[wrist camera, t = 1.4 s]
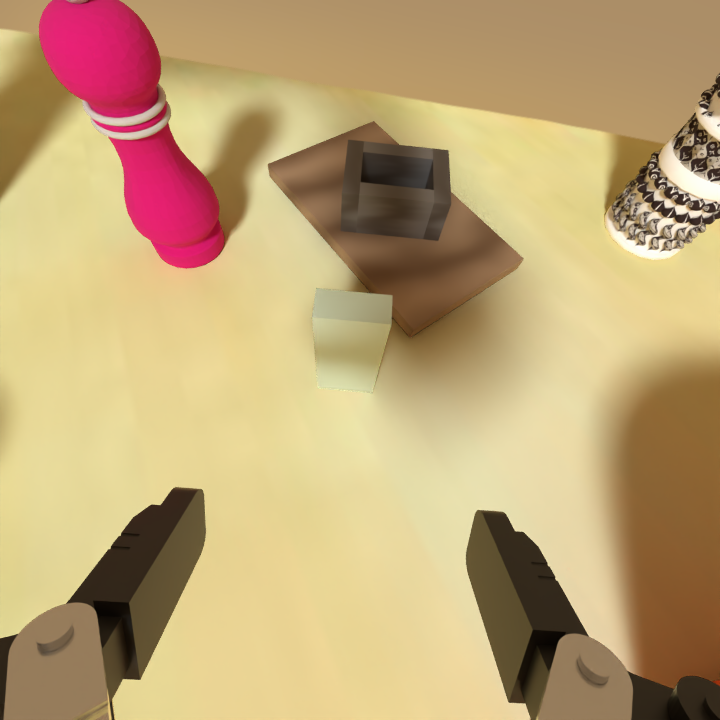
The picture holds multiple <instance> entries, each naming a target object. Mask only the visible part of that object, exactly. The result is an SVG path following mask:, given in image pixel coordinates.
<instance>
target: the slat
mask: <svg viewBox="0 0 720 720" xmlns="http://www.w3.org/2000/svg"><path fill="white" fill-rule="evenodd" d="M392 296H393V295H384V294H373V293H363V292H352V291H341V290H331V289H320V288H316V293H315V300H314V307H313V315H312V322H313V335H314V347H315V360H316V373H317V385H318V388H320V389H332V390H343V391H355V392H367V393H372V392H373V389H374V385H375V382H376V378H377V375H378V371H379V367H380V364H381V360H382V357H383V353H384V350H385V346H386V343H387V339H388V336H389V332H390V328H391V325H392Z"/></svg>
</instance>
